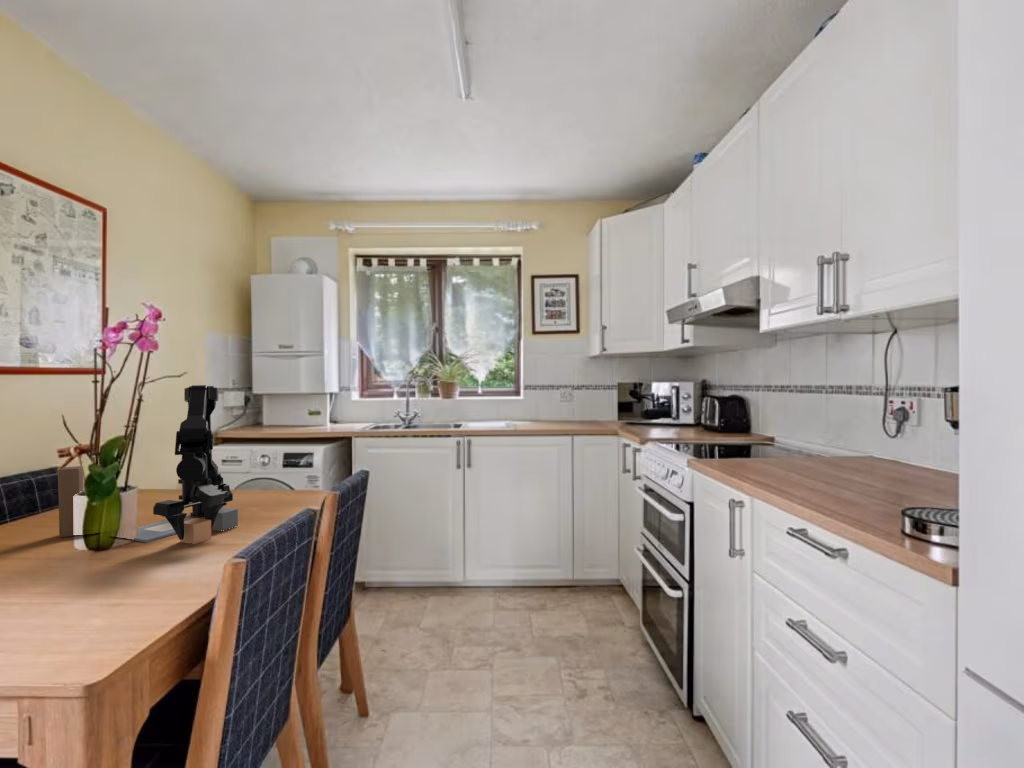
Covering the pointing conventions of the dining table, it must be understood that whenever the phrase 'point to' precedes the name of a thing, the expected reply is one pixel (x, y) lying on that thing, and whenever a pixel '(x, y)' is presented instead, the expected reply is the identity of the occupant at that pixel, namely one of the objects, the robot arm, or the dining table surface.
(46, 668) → the dining table surface
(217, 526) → the charcoal cube
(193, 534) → the terracotta cube
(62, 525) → the wooden block
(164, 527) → the board
